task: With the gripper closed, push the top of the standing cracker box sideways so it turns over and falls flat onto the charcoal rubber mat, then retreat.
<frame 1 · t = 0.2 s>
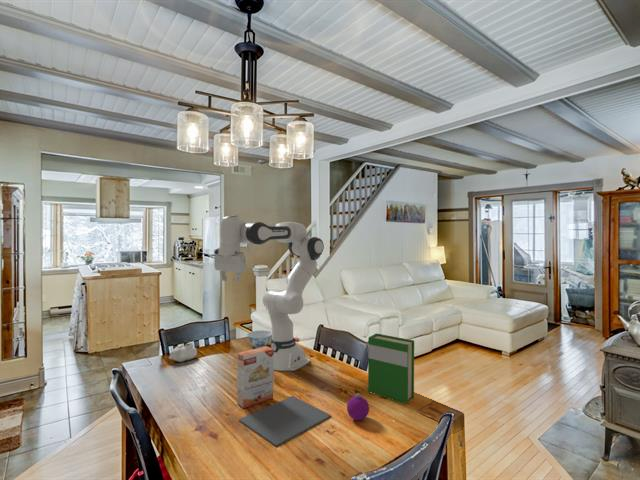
hand: (230, 281, 156), 47 cm above the table, fingers open, 8 cm apart
hardback book: (390, 395, 147), on the table
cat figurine: (183, 360, 186), on the table
cracker box: (255, 401, 141), on the table
mat: (285, 418, 127), on the table
chinaware: (259, 346, 210), on the table
christmas ornament: (357, 419, 128), on the table
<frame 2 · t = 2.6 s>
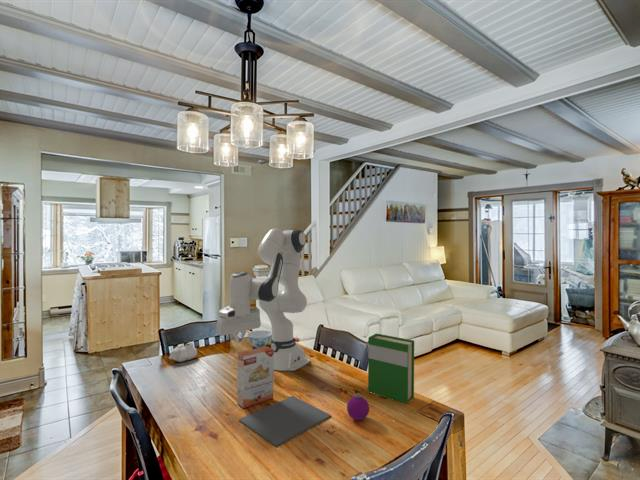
hand: (239, 341, 149), 22 cm above the table, fingers closed
nothing on the table moved.
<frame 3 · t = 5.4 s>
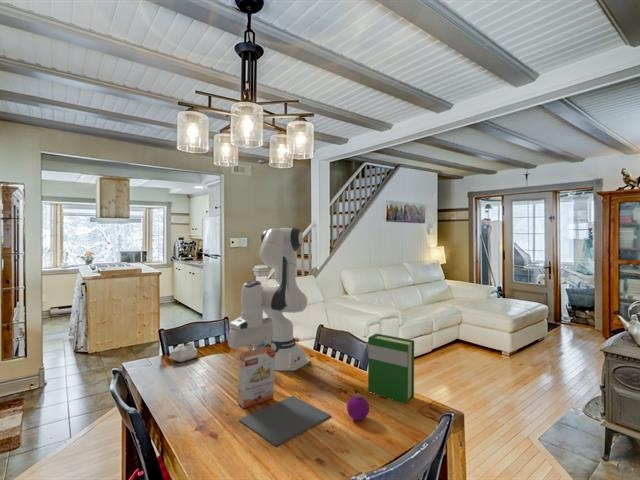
hand: (251, 354, 142), 19 cm above the table, fingers closed
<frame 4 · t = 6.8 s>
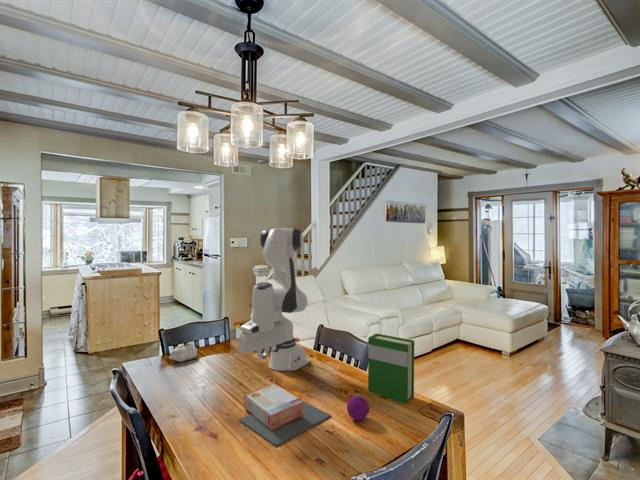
hand: (262, 358, 137), 19 cm above the table, fingers closed
cracker box: (258, 394, 139), point 3 cm above the table, touching mat
everything else where it was.
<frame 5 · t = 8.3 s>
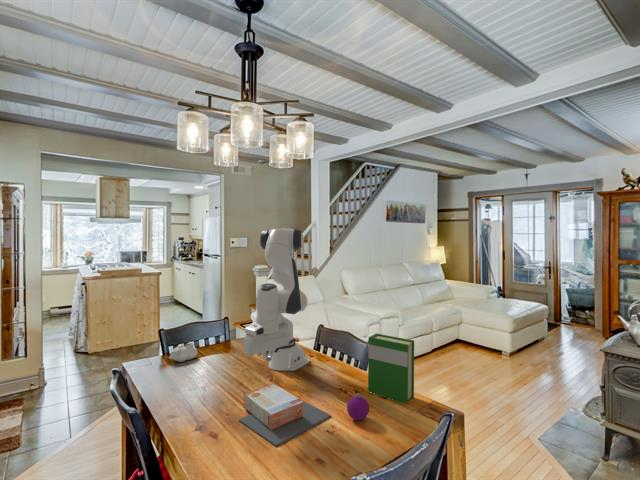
hand: (267, 361, 135), 19 cm above the table, fingers closed
nothing on the table moved.
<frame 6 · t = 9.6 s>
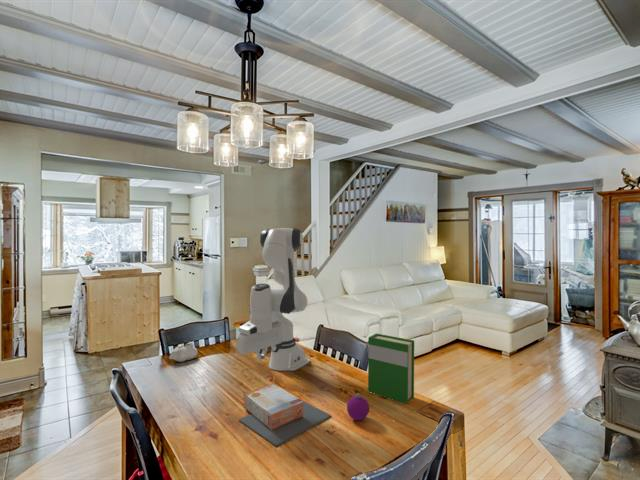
hand: (261, 359, 138), 18 cm above the table, fingers closed
nothing on the table moved.
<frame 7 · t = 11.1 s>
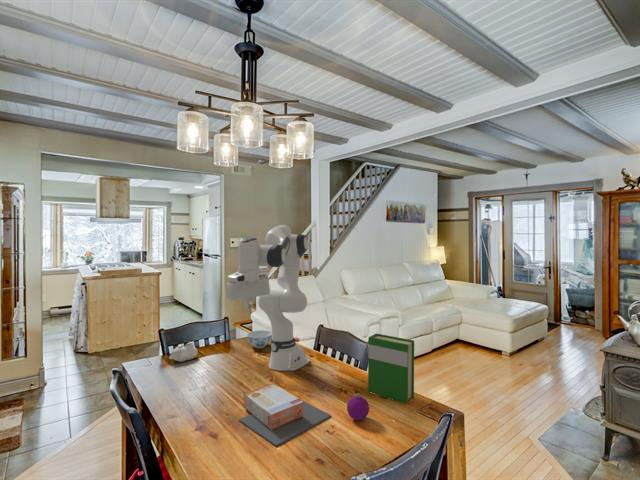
hand: (248, 307, 147), 37 cm above the table, fingers closed
nothing on the table moved.
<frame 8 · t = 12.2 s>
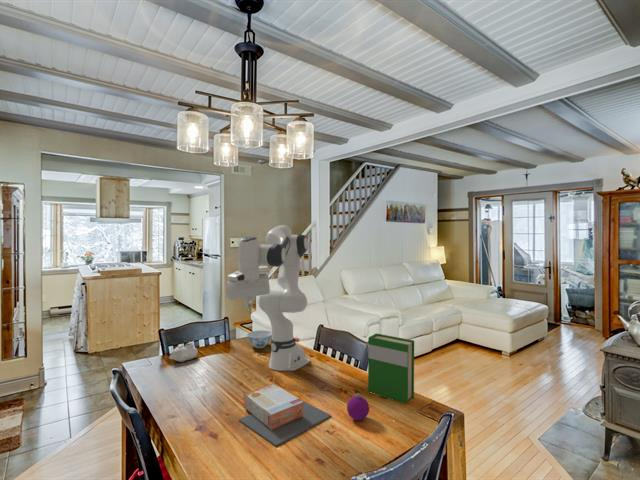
hand: (248, 307, 147), 37 cm above the table, fingers closed
nothing on the table moved.
at the end: cracker box tilted 89°; cracker box inside the target area (13.6 cm from its centre), point 3.4 cm above the table; the gripper is holding nothing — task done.
